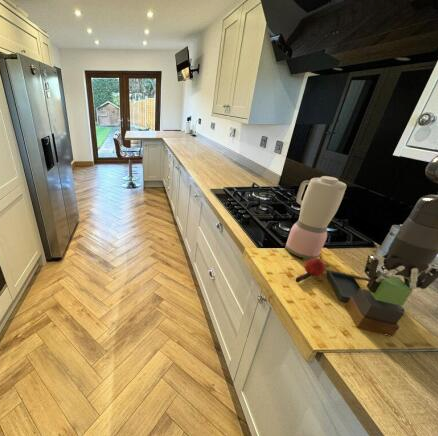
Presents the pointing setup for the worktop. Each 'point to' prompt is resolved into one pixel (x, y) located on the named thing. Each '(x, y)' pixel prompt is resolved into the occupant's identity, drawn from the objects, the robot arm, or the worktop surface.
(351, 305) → the walnut block
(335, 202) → the blender
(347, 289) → the tray
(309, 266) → the onion
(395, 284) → the green block
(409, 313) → the worktop surface
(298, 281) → the kitchen knife
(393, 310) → the charcoal block
